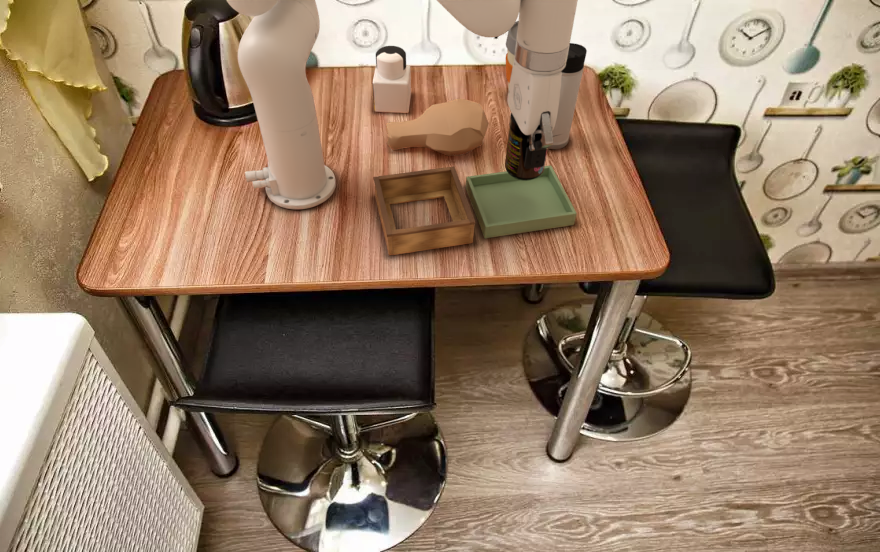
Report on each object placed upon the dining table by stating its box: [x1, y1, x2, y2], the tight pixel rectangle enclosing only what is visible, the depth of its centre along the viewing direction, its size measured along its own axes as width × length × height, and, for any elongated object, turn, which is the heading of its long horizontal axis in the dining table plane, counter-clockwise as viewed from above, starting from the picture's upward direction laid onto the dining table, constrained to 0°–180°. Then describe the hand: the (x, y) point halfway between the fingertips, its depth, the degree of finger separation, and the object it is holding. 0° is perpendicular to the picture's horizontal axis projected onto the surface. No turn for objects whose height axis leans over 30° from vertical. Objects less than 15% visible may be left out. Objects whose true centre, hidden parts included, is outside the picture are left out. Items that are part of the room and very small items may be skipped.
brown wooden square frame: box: [372, 166, 476, 256], centre depth 107 cm, size 15×15×5 cm
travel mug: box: [548, 42, 588, 150], centre depth 117 cm, size 6×7×20 cm
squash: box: [385, 98, 490, 157], centre depth 120 cm, size 11×20×9 cm, turn 94°
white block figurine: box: [372, 45, 412, 114], centre depth 127 cm, size 7×7×12 cm
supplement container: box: [504, 111, 549, 181], centre depth 101 cm, size 7×7×10 cm
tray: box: [465, 164, 578, 239], centre depth 111 cm, size 16×13×3 cm
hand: (526, 151), depth 103 cm, fingers closed on supplement container, 6 cm apart
